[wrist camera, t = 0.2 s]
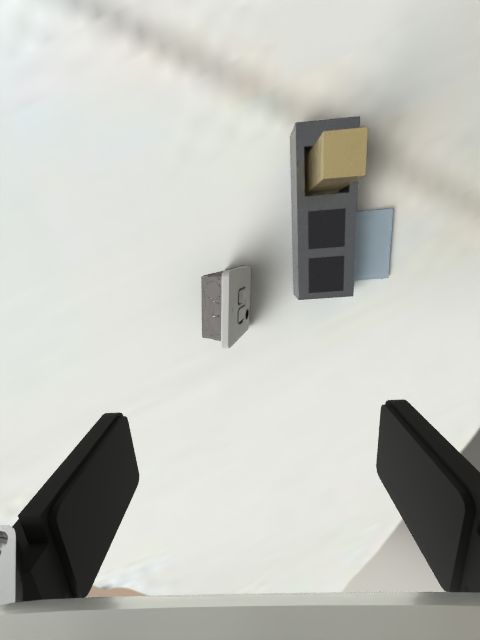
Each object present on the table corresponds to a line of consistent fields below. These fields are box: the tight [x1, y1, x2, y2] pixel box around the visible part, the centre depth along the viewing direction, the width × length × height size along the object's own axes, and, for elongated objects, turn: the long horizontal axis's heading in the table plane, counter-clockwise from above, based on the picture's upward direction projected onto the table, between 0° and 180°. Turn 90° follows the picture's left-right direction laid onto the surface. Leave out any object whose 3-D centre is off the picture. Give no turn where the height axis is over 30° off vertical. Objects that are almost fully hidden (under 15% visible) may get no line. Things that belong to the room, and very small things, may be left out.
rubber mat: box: [354, 209, 393, 280], centre depth 37 cm, size 9×5×1 cm, turn 4°
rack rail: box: [290, 117, 360, 300], centre depth 35 cm, size 20×7×4 cm, turn 4°
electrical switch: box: [201, 265, 251, 348], centre depth 36 cm, size 9×5×9 cm, turn 178°
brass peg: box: [304, 127, 368, 196], centre depth 30 cm, size 4×4×10 cm
